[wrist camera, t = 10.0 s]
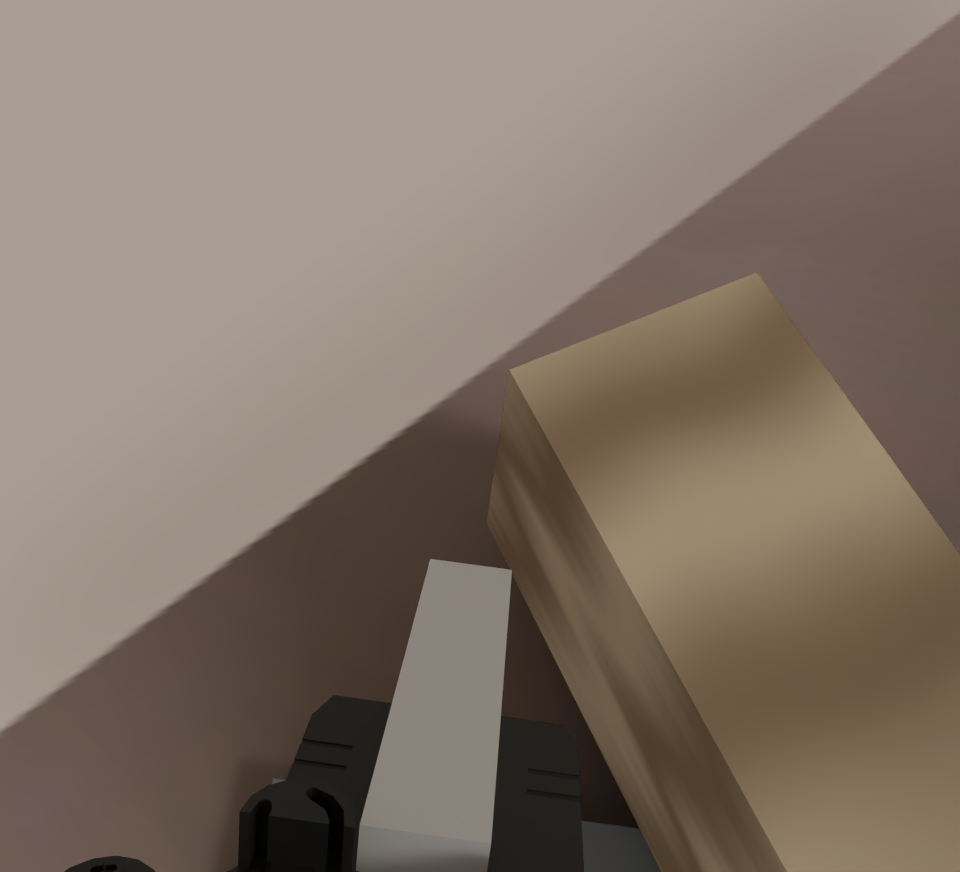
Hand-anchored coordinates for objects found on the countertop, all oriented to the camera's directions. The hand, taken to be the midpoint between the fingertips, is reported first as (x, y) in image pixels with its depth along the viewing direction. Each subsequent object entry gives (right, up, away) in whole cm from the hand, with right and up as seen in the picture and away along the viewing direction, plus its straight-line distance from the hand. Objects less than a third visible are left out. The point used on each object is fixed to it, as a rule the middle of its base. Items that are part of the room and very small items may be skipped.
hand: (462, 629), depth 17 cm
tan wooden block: (+7, -6, +7) cm, 12 cm away
